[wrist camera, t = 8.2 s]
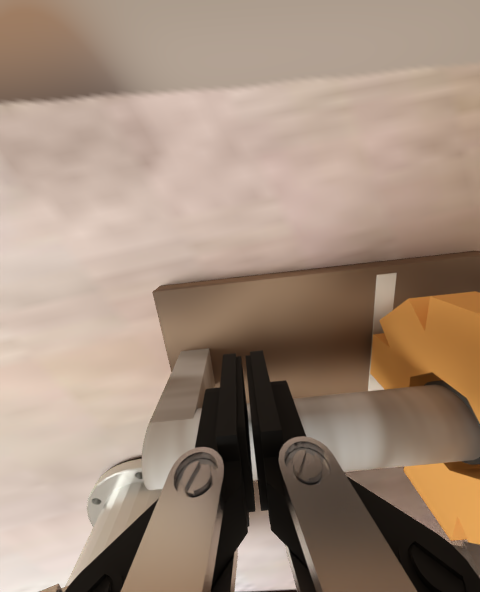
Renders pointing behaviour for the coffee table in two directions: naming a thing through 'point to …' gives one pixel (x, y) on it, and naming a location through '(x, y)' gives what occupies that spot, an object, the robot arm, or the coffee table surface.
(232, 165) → the coffee table surface
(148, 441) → the pipe stand
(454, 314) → the collar
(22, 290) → the coffee table surface
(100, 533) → the robot arm
